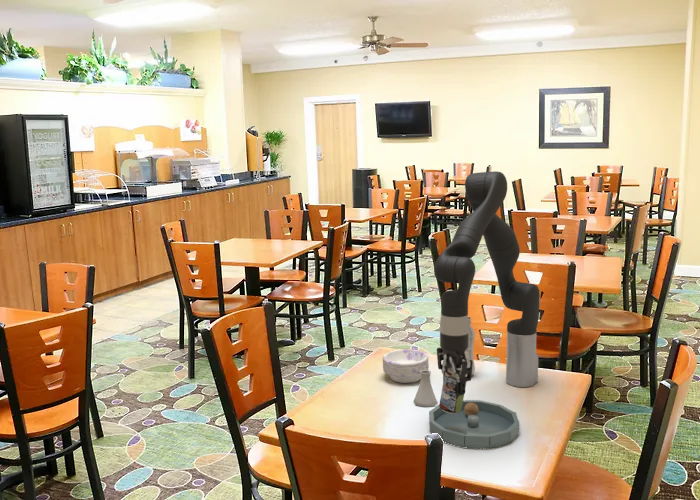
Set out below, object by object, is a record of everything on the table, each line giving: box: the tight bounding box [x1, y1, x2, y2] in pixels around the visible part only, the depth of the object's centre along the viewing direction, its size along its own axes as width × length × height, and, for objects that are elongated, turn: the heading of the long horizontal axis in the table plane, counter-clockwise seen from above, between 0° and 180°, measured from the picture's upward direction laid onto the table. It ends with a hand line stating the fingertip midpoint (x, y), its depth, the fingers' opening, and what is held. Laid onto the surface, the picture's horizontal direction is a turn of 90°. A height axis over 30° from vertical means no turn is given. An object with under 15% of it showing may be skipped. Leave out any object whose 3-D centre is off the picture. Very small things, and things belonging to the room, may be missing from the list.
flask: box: [413, 369, 438, 408], centre depth 204 cm, size 7×7×10 cm
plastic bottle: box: [460, 316, 476, 376], centre depth 226 cm, size 6×7×20 cm
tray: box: [428, 399, 520, 450], centre depth 186 cm, size 24×24×4 cm
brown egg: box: [464, 402, 478, 416], centre depth 192 cm, size 4×4×4 cm
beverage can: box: [438, 367, 467, 414], centre depth 182 cm, size 6×7×12 cm
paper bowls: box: [382, 348, 429, 384], centre depth 226 cm, size 15×15×8 cm
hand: (453, 390), depth 182 cm, fingers closed on beverage can, 6 cm apart
